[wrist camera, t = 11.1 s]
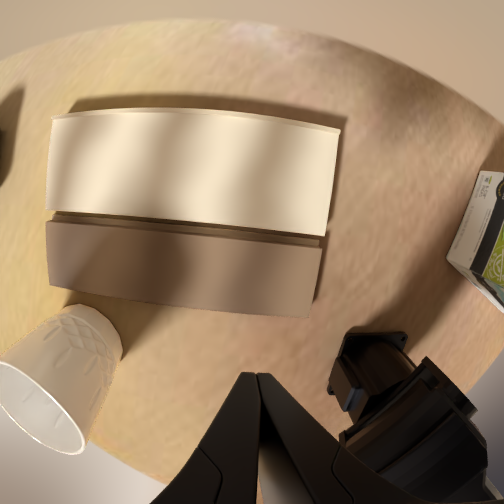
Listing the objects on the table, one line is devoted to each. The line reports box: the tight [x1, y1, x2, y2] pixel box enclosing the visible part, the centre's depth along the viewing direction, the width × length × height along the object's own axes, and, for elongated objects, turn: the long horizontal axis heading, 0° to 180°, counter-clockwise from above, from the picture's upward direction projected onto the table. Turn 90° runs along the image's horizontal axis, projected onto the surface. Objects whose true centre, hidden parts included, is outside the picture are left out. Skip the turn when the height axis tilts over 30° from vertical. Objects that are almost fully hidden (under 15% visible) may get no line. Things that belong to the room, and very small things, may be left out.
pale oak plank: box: [46, 108, 340, 236], centre depth 16 cm, size 20×7×2 cm, turn 83°
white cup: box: [0, 304, 123, 455], centre depth 15 cm, size 8×8×10 cm
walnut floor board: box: [46, 214, 322, 318], centre depth 18 cm, size 20×5×1 cm, turn 83°
